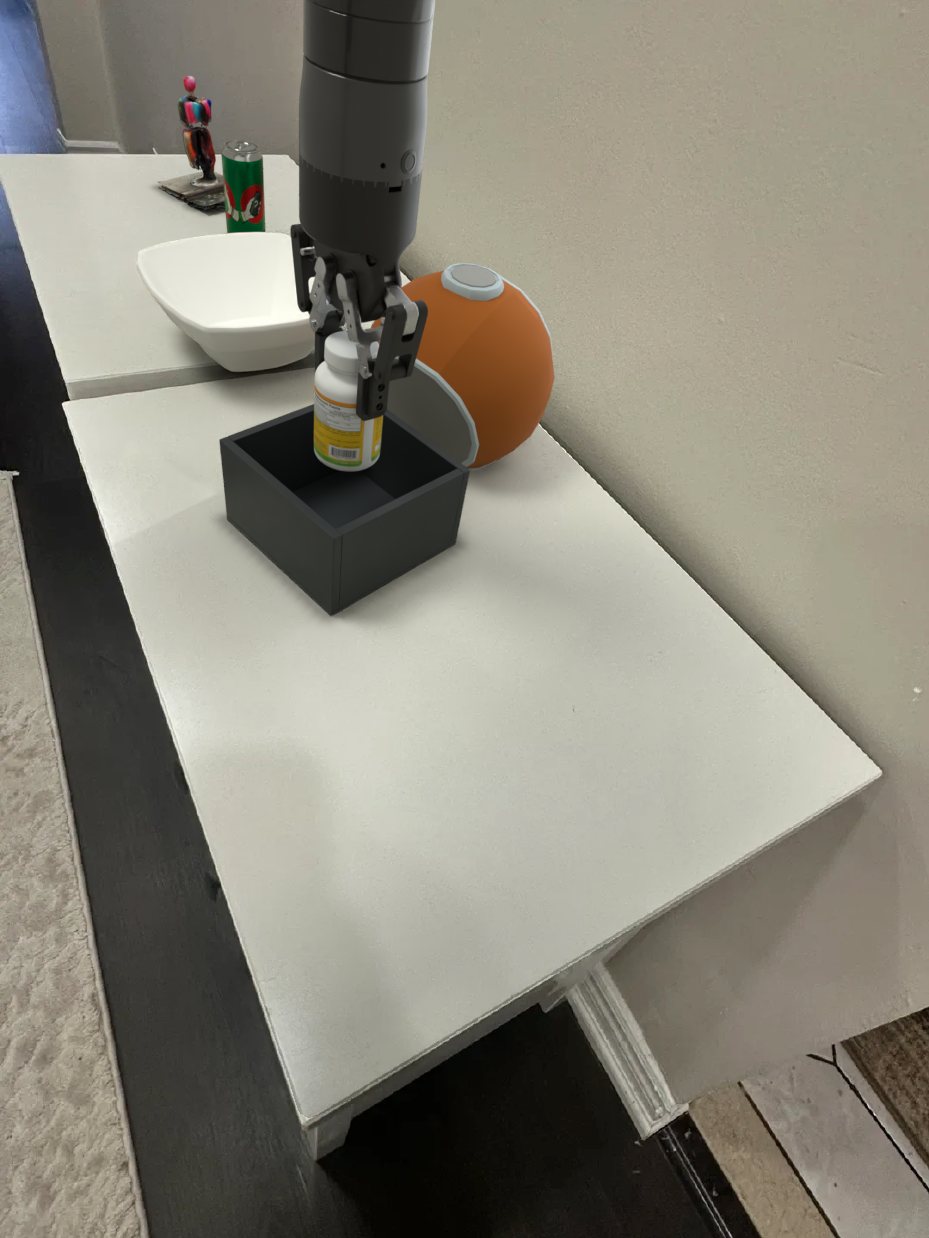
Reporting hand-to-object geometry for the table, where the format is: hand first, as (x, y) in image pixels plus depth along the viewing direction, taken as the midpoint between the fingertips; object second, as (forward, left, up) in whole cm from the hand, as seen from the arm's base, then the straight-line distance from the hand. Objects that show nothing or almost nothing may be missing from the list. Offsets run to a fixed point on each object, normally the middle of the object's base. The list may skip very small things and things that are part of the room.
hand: (349, 395), depth 59 cm
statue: (+21, +72, -14) cm, 76 cm away
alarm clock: (+18, +8, -14) cm, 25 cm away
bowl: (+7, +31, -14) cm, 35 cm away
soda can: (+19, +56, -14) cm, 61 cm away
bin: (0, 0, -14) cm, 14 cm away
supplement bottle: (0, 0, -6) cm, 6 cm away
